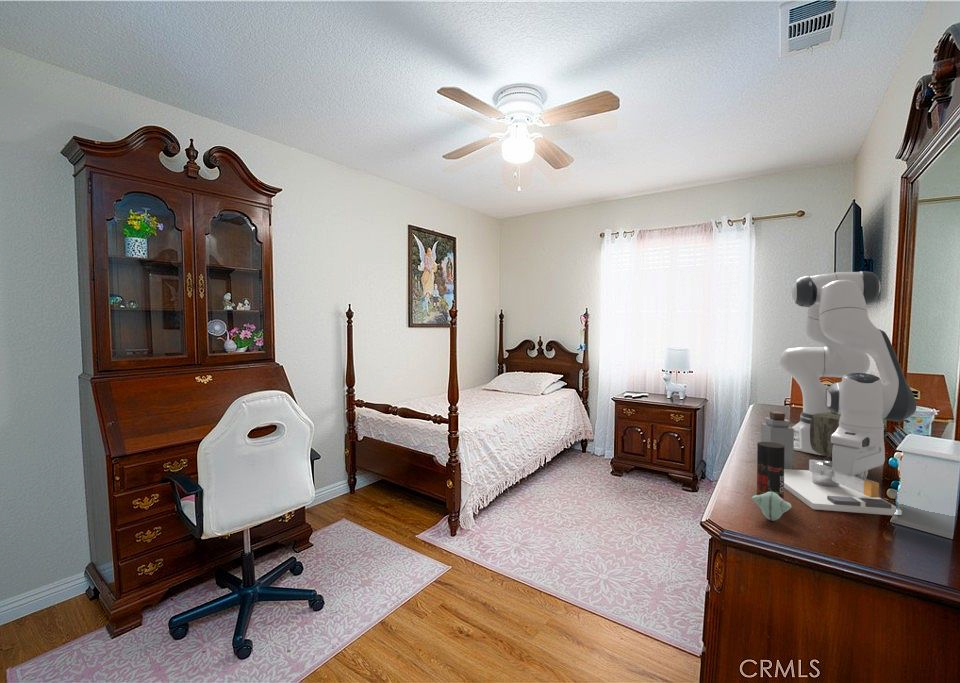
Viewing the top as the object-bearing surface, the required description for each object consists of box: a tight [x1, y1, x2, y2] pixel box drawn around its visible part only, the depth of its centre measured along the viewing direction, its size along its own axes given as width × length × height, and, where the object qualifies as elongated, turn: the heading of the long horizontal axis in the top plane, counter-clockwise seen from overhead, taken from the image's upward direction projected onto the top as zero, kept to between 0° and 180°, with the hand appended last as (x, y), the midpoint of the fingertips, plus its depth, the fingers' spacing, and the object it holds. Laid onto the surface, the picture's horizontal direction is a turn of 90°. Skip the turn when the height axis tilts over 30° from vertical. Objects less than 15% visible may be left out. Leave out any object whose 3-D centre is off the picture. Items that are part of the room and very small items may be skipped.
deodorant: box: [756, 441, 785, 501], centre depth 111 cm, size 6×6×15 cm
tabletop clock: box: [810, 411, 841, 461], centre depth 137 cm, size 14×9×25 cm, turn 17°
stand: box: [784, 469, 897, 516], centre depth 118 cm, size 28×19×3 cm
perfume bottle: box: [760, 411, 795, 470], centre depth 139 cm, size 7×7×18 cm
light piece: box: [808, 458, 880, 498], centre depth 114 cm, size 20×6×6 cm, turn 1°
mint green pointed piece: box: [751, 492, 792, 522], centre depth 100 cm, size 8×4×7 cm, turn 47°
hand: (859, 486), depth 112 cm, fingers closed
